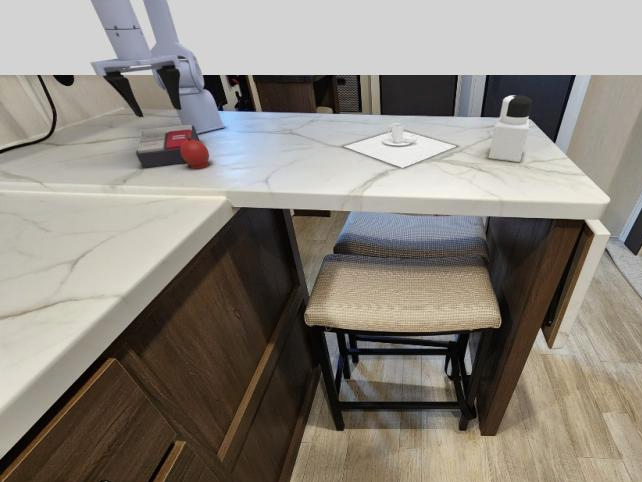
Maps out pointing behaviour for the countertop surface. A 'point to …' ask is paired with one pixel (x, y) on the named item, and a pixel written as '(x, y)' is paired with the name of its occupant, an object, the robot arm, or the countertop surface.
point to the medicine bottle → (511, 129)
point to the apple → (194, 153)
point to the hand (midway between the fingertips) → (159, 112)
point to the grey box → (164, 145)
